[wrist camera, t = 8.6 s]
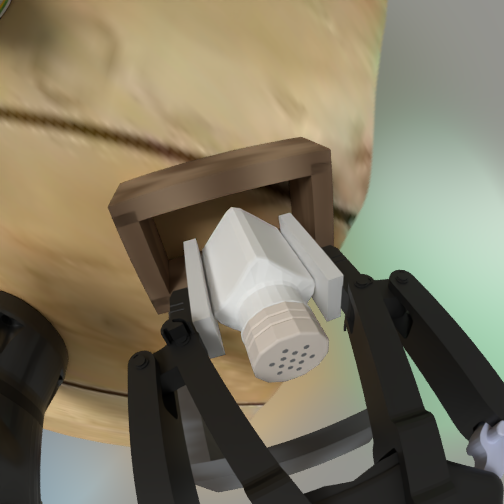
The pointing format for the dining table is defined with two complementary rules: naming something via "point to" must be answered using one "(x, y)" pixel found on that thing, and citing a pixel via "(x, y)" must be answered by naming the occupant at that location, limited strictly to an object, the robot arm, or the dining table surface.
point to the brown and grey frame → (174, 271)
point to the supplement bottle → (4, 6)
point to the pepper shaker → (263, 296)
